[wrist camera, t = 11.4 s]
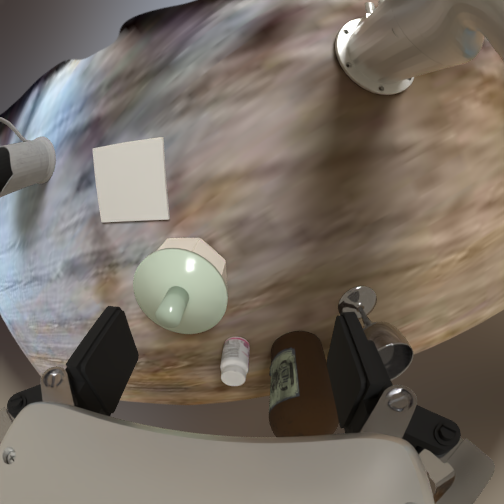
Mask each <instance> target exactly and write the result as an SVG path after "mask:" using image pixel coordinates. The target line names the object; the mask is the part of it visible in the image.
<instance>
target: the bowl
mask: <svg viewBox="0 0 504 504" xmlns="http://www.w3.org/2000/svg"><path fill="white" fill-rule="evenodd" d="M165 248H181V249H186V250H189V251H192V252H195V253H197V254H199V255H201V256H202V257H204V258H206V259H207V260H208V261H209V262H211V263H212V264H213V265H214V266H215V267H216V269H217V270H218V271H219V272H220V274H221V275H222V277H223V279H224V281H225V284H226V287H227V273H226V261H225V259H224V258H223V257H221V256H220V255H219V254H218V253H217V252H216V251H215V250H214V249H213V248H212V247H211V246H210V245H208V244H207V243H205V242H204V241H203V240H202V239H201V238H186V237H184V238H168V239H167V240H166V241H165V242H164V243H163V244H162V245H161V247H160V248H159V249H158V250H160V249H165ZM158 250H157V251H158Z"/></svg>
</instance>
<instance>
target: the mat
mask: <svg viewBox="0 0 504 504" xmlns="http://www.w3.org/2000/svg"><path fill="white" fill-rule="evenodd" d="M93 158H94V169H95V179H96V187H97V195H98V202H99V209H100V215H101V221H102V222H120V221H142V220H169V219H170V216H169V206H168V195H167V183H166V170H165V154H164V137H159V138H151V139H144V140H137V141H131V142H125V143H119V144H114V145H109V146H103V147H99V148H94V149H93Z"/></svg>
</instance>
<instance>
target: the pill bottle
mask: <svg viewBox="0 0 504 504" xmlns="http://www.w3.org/2000/svg"><path fill="white" fill-rule="evenodd" d="M249 351H250V346H249V343H248V341H247V340H245V339H244V338H241V337H230V338H228V339H227V340H226V341H225V343H224V347H223V353H222V359H221V365H220V369H221V371H222V373H221V380H222V381H223V382H224V383H225V384H227V385H230V386H240V385H242V384H243V383H244V382H245V380H246V374H247V372H248V369H249Z"/></svg>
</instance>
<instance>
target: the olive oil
mask: <svg viewBox="0 0 504 504" xmlns="http://www.w3.org/2000/svg"><path fill="white" fill-rule="evenodd" d="M270 376H271V387H270V405H269V422H270V426H271V428H272V431H273V433H274V435H275V436H276V437H301V436H317V435H329V434H333V433H334V432H335V430H336V429H337V427H338V424H339V420H338V415H337V410H336V405H335V400H334V396H333V391H332V387H331V382H330V378H329V373H328V369H327V363H326V359H325V356H324V352H323V348H322V345H321V342H320V340H319V339H318V338H317V337H316V336H315V335H313V334H311V333H309V332H304V331H296V332H291V333H287V334H285V335H283V336H281V337H280V338H278V339H277V340H276V341H275V343H274V344H273V347H272V353H271V366H270Z"/></svg>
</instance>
